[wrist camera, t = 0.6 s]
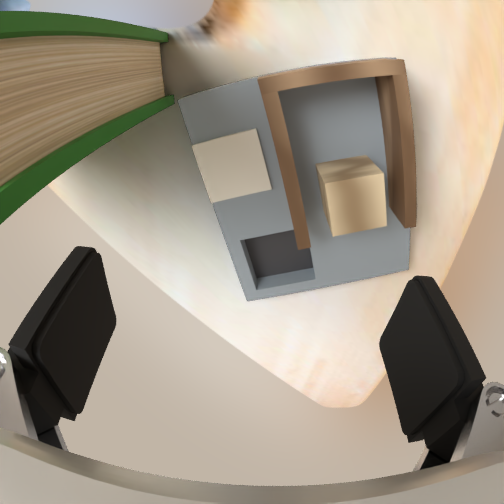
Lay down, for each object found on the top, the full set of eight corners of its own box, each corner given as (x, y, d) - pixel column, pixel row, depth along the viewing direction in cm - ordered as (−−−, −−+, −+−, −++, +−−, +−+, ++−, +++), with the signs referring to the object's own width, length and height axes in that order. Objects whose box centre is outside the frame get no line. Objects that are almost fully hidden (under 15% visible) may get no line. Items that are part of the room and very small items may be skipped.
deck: (386, 57, 24) (397, 58, 21) (401, 258, 37) (409, 271, 34) (183, 97, 27) (176, 100, 25) (247, 288, 40) (247, 303, 38)
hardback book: (167, 32, 23) (-42, 13, 3) (174, 103, 27) (-2, 226, 8) (27, 76, 24) (-150, 153, 4) (37, 134, 28) (-122, 248, 9)
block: (365, 154, 27) (383, 173, 23) (370, 201, 30) (386, 226, 26) (315, 163, 28) (324, 183, 24) (323, 210, 31) (332, 236, 27)
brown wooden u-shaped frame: (383, 58, 22) (403, 59, 18) (399, 204, 30) (416, 226, 26) (257, 77, 24) (257, 79, 20) (293, 225, 32) (298, 249, 28)
